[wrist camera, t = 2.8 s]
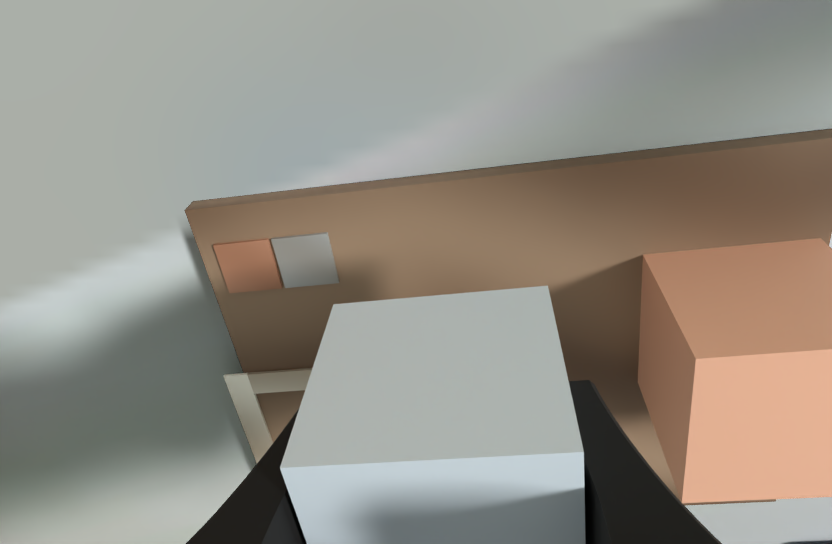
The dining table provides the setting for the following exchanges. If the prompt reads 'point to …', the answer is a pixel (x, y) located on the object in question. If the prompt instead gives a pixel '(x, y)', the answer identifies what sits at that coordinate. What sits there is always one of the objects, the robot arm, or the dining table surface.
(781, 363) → the terracotta block
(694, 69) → the dining table surface
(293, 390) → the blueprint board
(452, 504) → the grey blue block
